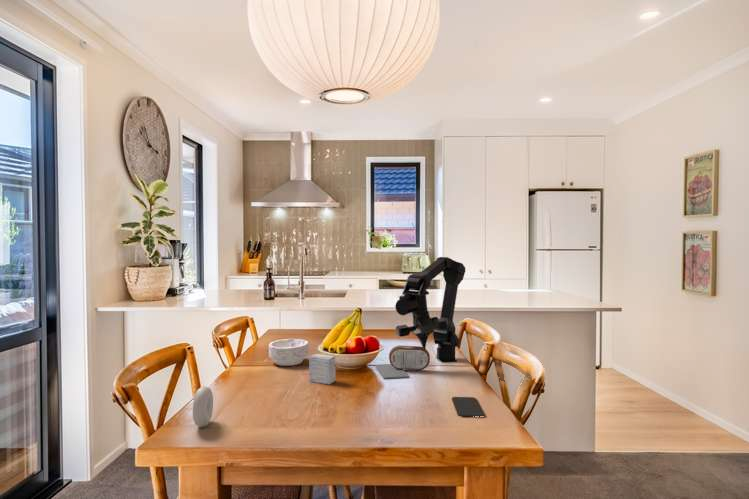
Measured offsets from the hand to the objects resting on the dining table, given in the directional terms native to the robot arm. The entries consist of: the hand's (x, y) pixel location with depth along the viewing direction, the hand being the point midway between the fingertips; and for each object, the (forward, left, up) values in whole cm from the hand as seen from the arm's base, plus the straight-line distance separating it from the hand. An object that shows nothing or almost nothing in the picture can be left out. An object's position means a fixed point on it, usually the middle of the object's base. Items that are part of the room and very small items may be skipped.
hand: (424, 349), depth 170 cm
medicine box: (+38, +8, -8) cm, 40 cm away
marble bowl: (+49, -17, -8) cm, 53 cm away
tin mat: (+13, +1, -7) cm, 15 cm away
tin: (+6, +1, -7) cm, 9 cm away
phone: (-1, +39, -8) cm, 39 cm away
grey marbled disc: (+71, +39, -8) cm, 82 cm away
